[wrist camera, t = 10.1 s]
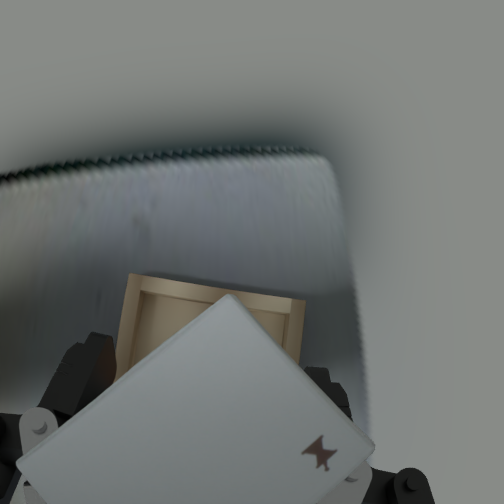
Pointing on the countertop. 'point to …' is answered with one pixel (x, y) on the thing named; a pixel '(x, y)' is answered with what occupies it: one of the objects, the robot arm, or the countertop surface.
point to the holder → (193, 316)
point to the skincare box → (203, 427)
